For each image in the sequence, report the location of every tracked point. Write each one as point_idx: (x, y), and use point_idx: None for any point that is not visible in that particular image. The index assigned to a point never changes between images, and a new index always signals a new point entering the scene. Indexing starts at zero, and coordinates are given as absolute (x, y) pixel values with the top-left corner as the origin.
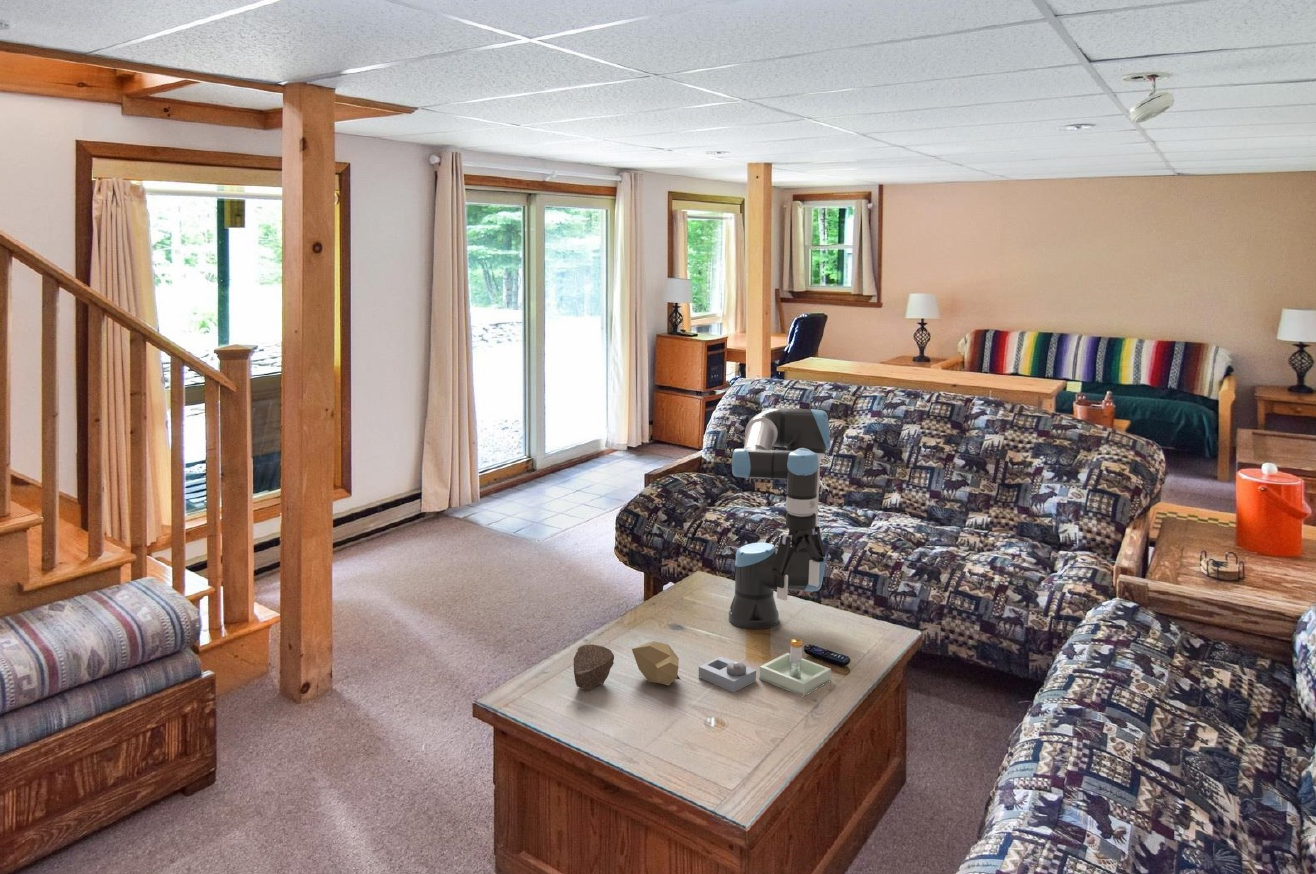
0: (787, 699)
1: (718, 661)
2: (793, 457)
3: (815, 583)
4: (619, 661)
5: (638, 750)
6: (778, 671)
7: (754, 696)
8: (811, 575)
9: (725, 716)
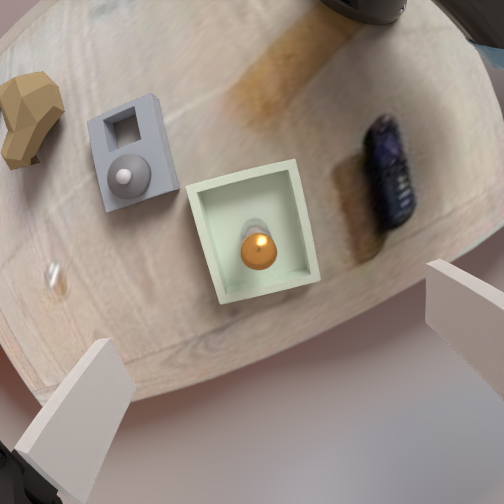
0: (189, 285)
1: (135, 108)
2: None
3: (435, 318)
4: (49, 38)
5: None
6: (242, 188)
7: (141, 243)
8: (465, 309)
9: (72, 274)
